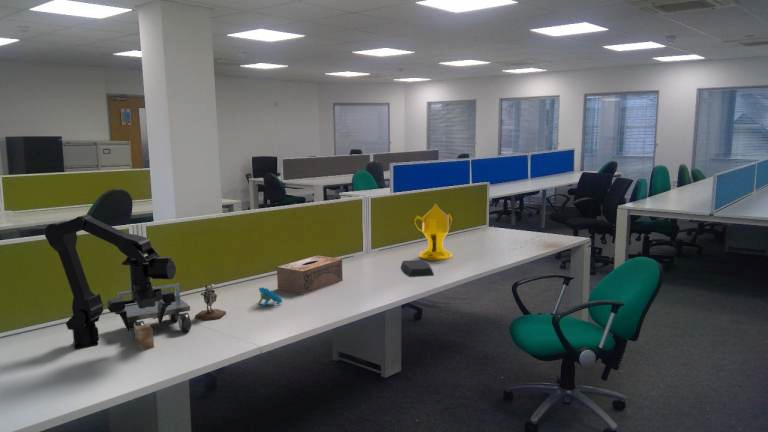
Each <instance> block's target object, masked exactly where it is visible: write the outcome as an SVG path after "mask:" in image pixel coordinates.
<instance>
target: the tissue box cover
mask: <svg viewBox="0 0 768 432" xmlns="http://www.w3.org/2000/svg"><path fill="white" fill-rule="evenodd" d="M276 278H277V283H276V284H277V290H279V291H286V292H290V293H294V294H298V295H299V294H301V295H305V294H308V293H312V292H314V291H317V290H320V289H324V288H325V287H328V286H331V285H334V284H337V283H340V282H343V259H342V258H338V257H337V258H336V257H330V256H323V255H314V256H310V257H306V258H303V259H301V260H296V261H293V262H289V263H286V264H282V265H279V266H276Z"/></svg>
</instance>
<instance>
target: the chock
mask: <svg viewBox="0 0 768 432" xmlns="http://www.w3.org/2000/svg"><path fill="white" fill-rule="evenodd" d="M144 324H145V323H144ZM134 337H136V338H135V345H136V346H137V348H138V349H139V351H144V350H149V349H154V348H155V344H154V343H155V342H154V341H155V340H154V329H153V328H152V327H151V325H150V324H149V323H146V324H145V325H139V326H135V334H134Z"/></svg>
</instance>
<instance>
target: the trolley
mask: <svg viewBox="0 0 768 432" xmlns="http://www.w3.org/2000/svg"><path fill="white" fill-rule="evenodd" d="M171 288H174V294H175V296H176V301H175V302H172V304H171V305H169V306H168V307H167V308H166V310H165V312H164V316H168V318H169V321H170V322H174V321H178V326H179V331H180V332H181V333H183V332H187V331H191V328H192V323H191V322H192V321H191V317H190V315H189V313H188V312H190V311H191V307H190V304H188V303H187V302H186V301H185V300H183V299H182V298H181V290H180V283H171V284H165V285H159V286H158V285H157V286H152V289H153V290H154V289H161V290H163V289H171ZM126 295H131V290H128V291H121V292H120V291H119V292H117V298H122V299H123V296H126ZM123 300H124V299H123ZM125 310H126V312H127V319H128V324H129V330H132V329H133V333H134V335H135V326H139V325H145V322H144V320H145V319H148V320H149V319H152V318H158V301H156V305H155V306H154V307H146V308H143V309H140V308H139V307H138V305H132V306H126V307H125ZM134 337H135V336H134ZM135 339H136V337H135Z"/></svg>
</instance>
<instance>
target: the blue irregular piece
mask: <svg viewBox="0 0 768 432" xmlns="http://www.w3.org/2000/svg"><path fill="white" fill-rule="evenodd" d="M258 290H259V292H260V295H259V296H260V299H259V301H258V302H257V303H258V304H259V305H260V304H261V303H262V301H263V300H264V302H263V304H262V307H266V306H267V304H268V302H269V301H271V300H272V301H273V302H275V303H277V304H280V303H282V302H283V300H282V297H280V296H279V295H278V294H277V293H275V292H274V291H272V290H270V289H268V288H264V287H263V286H261V287H259V289H258Z"/></svg>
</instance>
